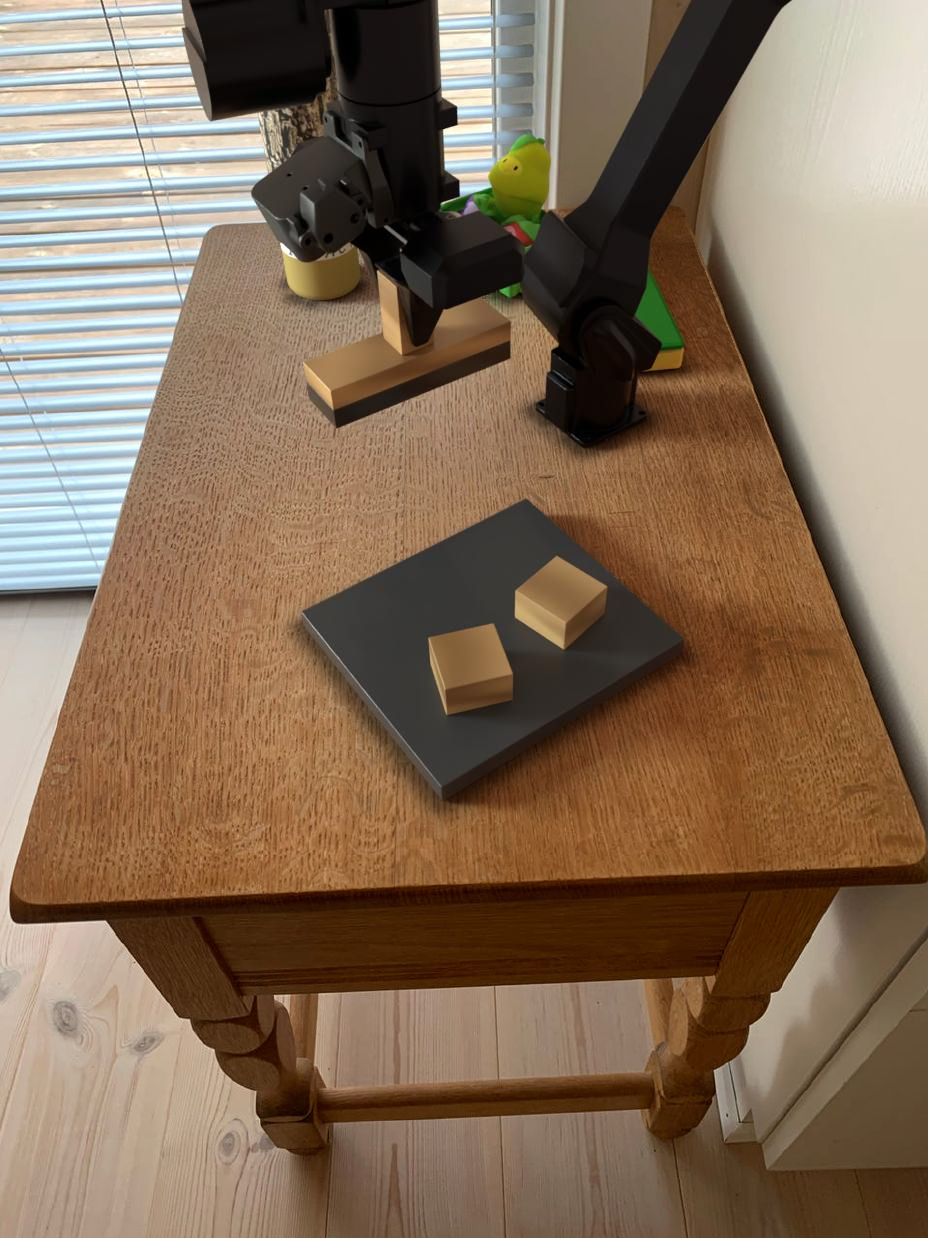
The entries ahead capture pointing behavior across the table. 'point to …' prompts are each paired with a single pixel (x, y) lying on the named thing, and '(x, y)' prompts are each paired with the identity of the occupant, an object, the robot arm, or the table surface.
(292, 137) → the paper tube
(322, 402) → the brush
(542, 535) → the serving board
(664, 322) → the dish sponge
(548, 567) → the cork piece
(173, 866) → the table surface
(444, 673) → the cork piece
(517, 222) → the fruit basket
